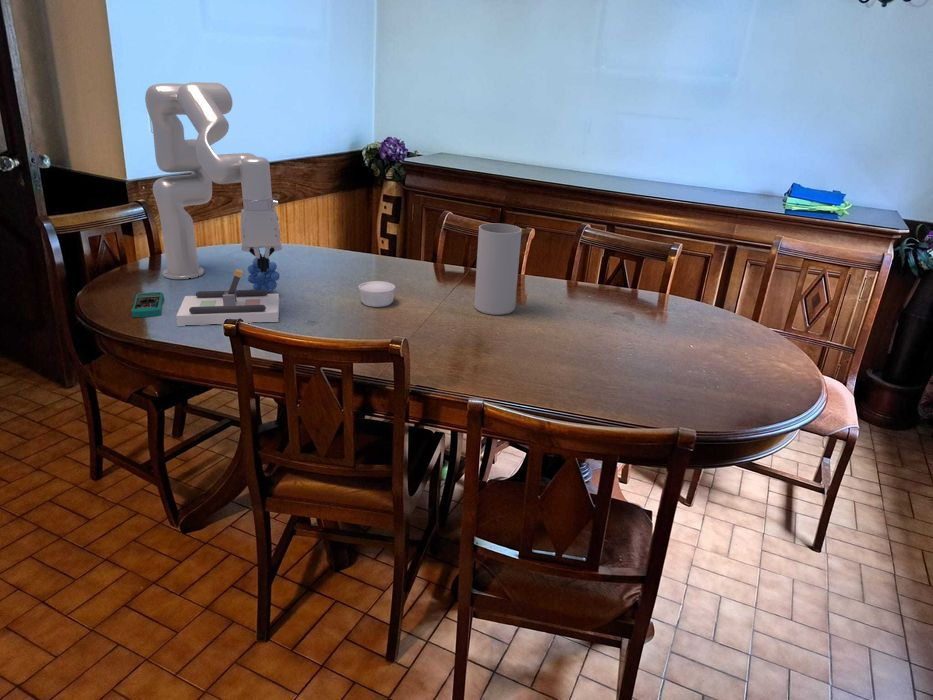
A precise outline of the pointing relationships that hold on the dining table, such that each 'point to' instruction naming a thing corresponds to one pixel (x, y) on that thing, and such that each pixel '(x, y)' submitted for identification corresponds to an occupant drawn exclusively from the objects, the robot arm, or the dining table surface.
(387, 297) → the ramekin
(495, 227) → the cylinder vase
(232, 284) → the breaker lever
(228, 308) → the pair of dark bars
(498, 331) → the dining table surface
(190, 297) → the switch base plate
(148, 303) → the digital multimeter
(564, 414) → the dining table surface
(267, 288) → the grapes
